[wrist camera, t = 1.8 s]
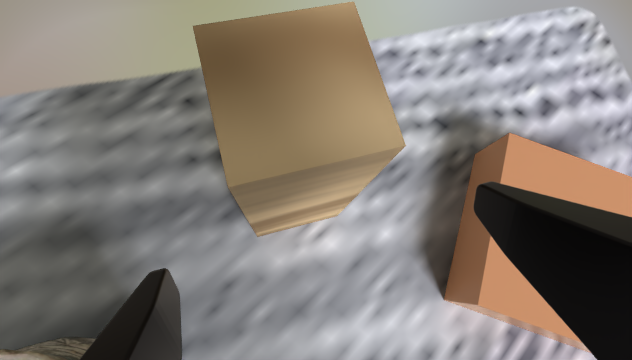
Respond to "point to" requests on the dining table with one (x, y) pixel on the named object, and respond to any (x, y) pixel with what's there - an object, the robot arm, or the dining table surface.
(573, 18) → the dining table surface
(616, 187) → the terracotta block
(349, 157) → the birch block
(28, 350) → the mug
